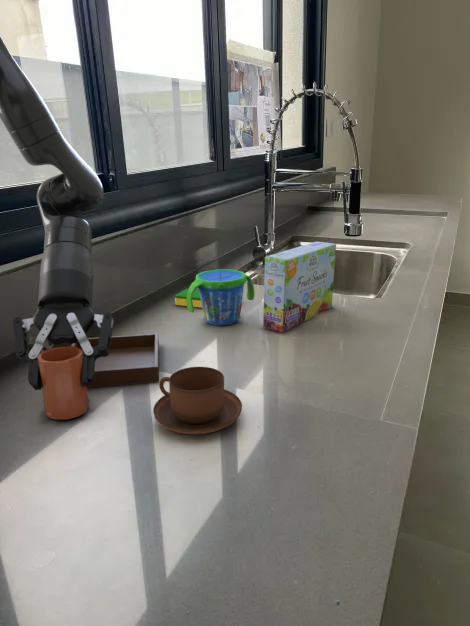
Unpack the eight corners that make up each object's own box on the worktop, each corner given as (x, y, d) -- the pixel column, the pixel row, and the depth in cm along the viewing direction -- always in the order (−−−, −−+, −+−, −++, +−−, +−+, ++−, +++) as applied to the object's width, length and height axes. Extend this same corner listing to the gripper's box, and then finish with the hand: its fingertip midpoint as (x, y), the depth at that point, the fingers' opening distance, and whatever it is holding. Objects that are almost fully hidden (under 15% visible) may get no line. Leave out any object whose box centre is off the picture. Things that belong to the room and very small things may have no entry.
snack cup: (197, 334, 99) (194, 285, 96) (179, 319, 108) (176, 274, 105) (265, 322, 105) (265, 275, 102) (243, 308, 114) (243, 265, 111)
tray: (60, 389, 77) (57, 374, 76) (75, 352, 91) (74, 338, 90) (158, 382, 79) (157, 366, 78) (159, 346, 93) (158, 333, 92)
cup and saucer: (142, 440, 63) (138, 397, 61) (167, 396, 74) (165, 358, 72) (235, 446, 62) (234, 401, 60) (246, 399, 73) (246, 361, 71)
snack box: (285, 334, 98) (286, 259, 94) (262, 328, 102) (262, 256, 97) (334, 307, 114) (337, 242, 110) (312, 303, 118) (314, 239, 113)
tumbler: (41, 421, 67) (32, 364, 64) (50, 401, 73) (42, 347, 70) (85, 417, 68) (78, 360, 65) (91, 398, 73) (85, 344, 71)
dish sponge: (188, 297, 124) (187, 287, 123) (239, 302, 119) (239, 292, 119) (174, 305, 118) (174, 295, 117) (228, 311, 113) (228, 300, 112)
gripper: (8, 268, 70) (-4, 381, 63) (112, 264, 72) (112, 373, 65) (23, 294, 77) (14, 399, 70) (118, 289, 79) (118, 391, 71)
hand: (61, 386), depth 67 cm, fingers closed on tumbler, 6 cm apart
